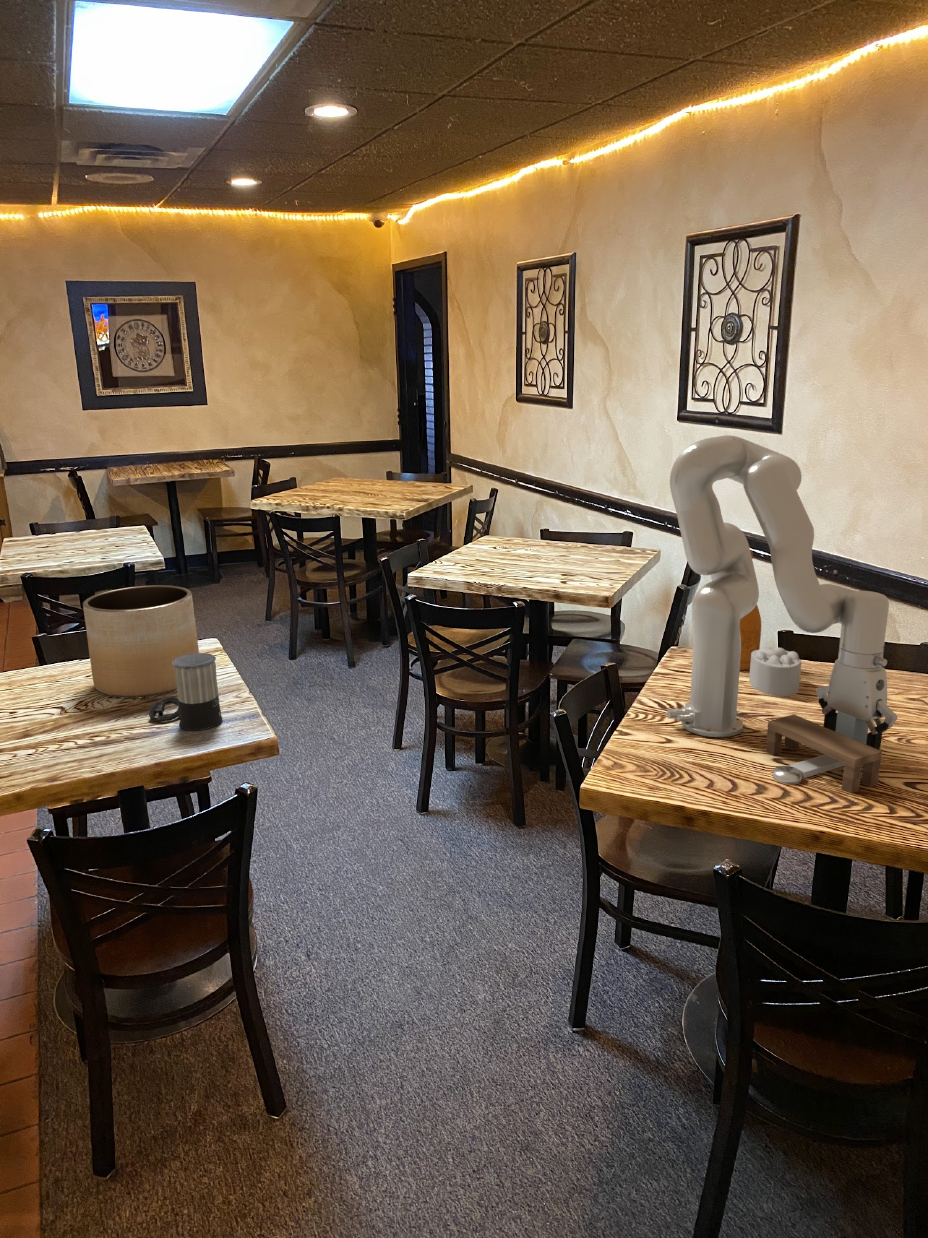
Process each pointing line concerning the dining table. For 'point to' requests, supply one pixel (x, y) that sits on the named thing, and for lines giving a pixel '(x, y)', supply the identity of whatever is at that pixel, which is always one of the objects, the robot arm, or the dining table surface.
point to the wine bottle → (749, 635)
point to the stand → (827, 748)
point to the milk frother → (193, 693)
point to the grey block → (824, 762)
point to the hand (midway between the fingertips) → (850, 742)
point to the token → (787, 774)
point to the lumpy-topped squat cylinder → (775, 671)
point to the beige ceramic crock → (139, 638)
